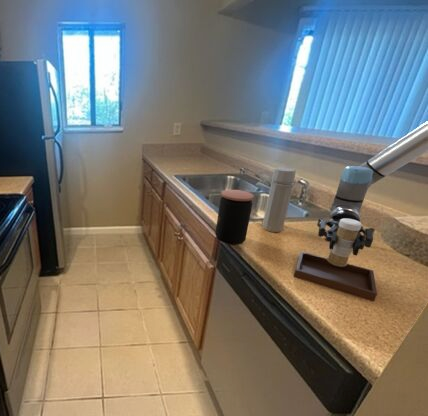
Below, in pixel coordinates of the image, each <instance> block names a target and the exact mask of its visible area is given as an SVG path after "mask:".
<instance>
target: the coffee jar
mask: <svg viewBox="0 0 428 416" xmlns="http://www.w3.org/2000/svg"><path fill="white" fill-rule="evenodd" d="M220 194H221V197H220V199H219V206H218V212H217V218H216V219H217V220H216V226H215V232H214V234H215V237H216V238H217V240H218V241H220V242H222V243H225V244H229V245H240V244H242V243H244V242H245V241H246V239H247V234H248V229H249V223H250V218H251V214H252V208H253V200H254V197H255V195H254V194H253V193H252V192H249V191H247V190H241V189H226V190H222V191H221V193H220Z"/></svg>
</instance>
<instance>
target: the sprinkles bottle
mask: <svg viewBox="0 0 428 416" xmlns="http://www.w3.org/2000/svg"><path fill="white" fill-rule="evenodd" d="M361 226H363V223H362V222H361V221H360V222H359V221H357V220H353V219H348V218H343V219H341V220H340V222H339V228H338V231H337V234H336V241H335V244H334V247H333V250H332V249H329V250H330V251H329V254H328V257H326V258H327V261H328V262H329V263H331V264H333V265H336V266H340V267H344V266H346V265H347V264H348V260H349V258H350V257H351V254H352V252H353V246H354V243H355V240H356V237H357V234H358V232H359V230H360V229H361Z"/></svg>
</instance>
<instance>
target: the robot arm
mask: <svg viewBox="0 0 428 416" xmlns="http://www.w3.org/2000/svg"><path fill="white" fill-rule="evenodd" d="M427 152H428V120H427V121H426V122H424V123H423V124H420V125H419V126H418V127H417V128H415V129H413V130H411V131H410V132H409V133H407V134H406V135H404V136H403V137H401V138H400V139H398V140H397V141H394V142H393V143H392V144H391V145H389V146H387V147H386V148H385V149H383V150H382V151H380V152H378V153H377V154H375V155H374V156H373V157H371V158H369V159H368V160H367V161H365V162H363V163H361V165H359V166H357V165H349V166H346V167H344V169H343V171H342V173H341V175H340V179H339V183H338V186H337V190H336V193H335V195H334V198H333V202H332V204H331V206H330V208H329V211H330V214H329V219H328V220H326V219H324V217H323V218H322V217H319V218H318V220H317V225H316V226H317V227H318V232H317V236H318V237H322V238H323V237H325V238H324V241H325V242H328V243H329V247H328V249H329V250H331V249H332V250H333V247H334V244H335V241H336V234H337V231H338V228H339V222H340V220H341V219H343V218H348V219H353V220H357V221H359V222H361V216H360V215H361V214H360V212H361V209H362V206H363V204H364V200H365V198H366V194H367V192H368V189H369V188H370V187H371V186H372V185H373V184H375V183H377V182H379V181H380V180H382V179H383V178H385V177H387V176H388V175H390V174H392V173H393V172H395V171H397V170H399V169H400V168H402V167H404V166H405V165H407V164H409V163H411V162H412V161H414V160H416V159H417V158H419V157H421V156H423V155H424V154H425V153H427ZM326 226H327V227H328V228H329V229H328V230H327V229H326ZM375 231H376V229H375V228H373V227H368V228H364V226H363V225H362V226H361V229H360V230H359V232H358V234H357V237H356V240H355V243H354V246H353V249H352V256H358V254H359V252H360V251H361V250H364V247H365V248H368V249H369V248H371V246H372V244H373V241H374V233H375Z"/></svg>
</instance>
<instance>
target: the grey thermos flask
mask: <svg viewBox="0 0 428 416" xmlns="http://www.w3.org/2000/svg"><path fill="white" fill-rule="evenodd" d="M296 172H297V171H296V169H295V168H290V167H281V166H279V167H275V168H274V171H273V173H272V177H271V179H270V182H271V183H270V187H269V193H268V197H267V201H266V207H265V212H264V216H263V219H262V220H263V221H262V228H263V229H264V230H265V231H267V232H271V233H280V232H281V231H283V230H284V226H285V223H286V222H285V221H286V218H287V217H286V216H287V213H288V209H289V206H290V202H291V201H290V200H291V197H292V193H293V189H294V185H296V182H295V179H296Z"/></svg>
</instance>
